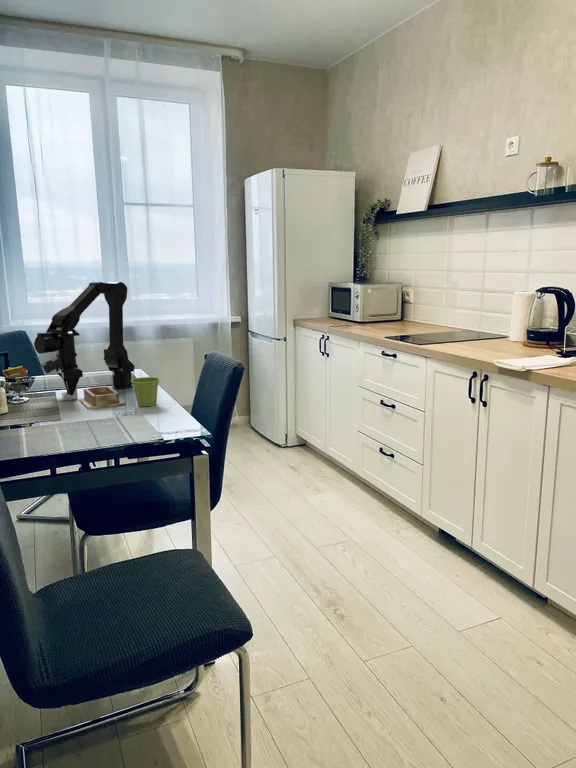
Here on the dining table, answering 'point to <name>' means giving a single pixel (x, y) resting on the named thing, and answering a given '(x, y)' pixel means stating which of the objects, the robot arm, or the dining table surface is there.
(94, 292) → the robot arm
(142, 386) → the plant pot
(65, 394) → the bracket
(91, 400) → the light wood shallow box
